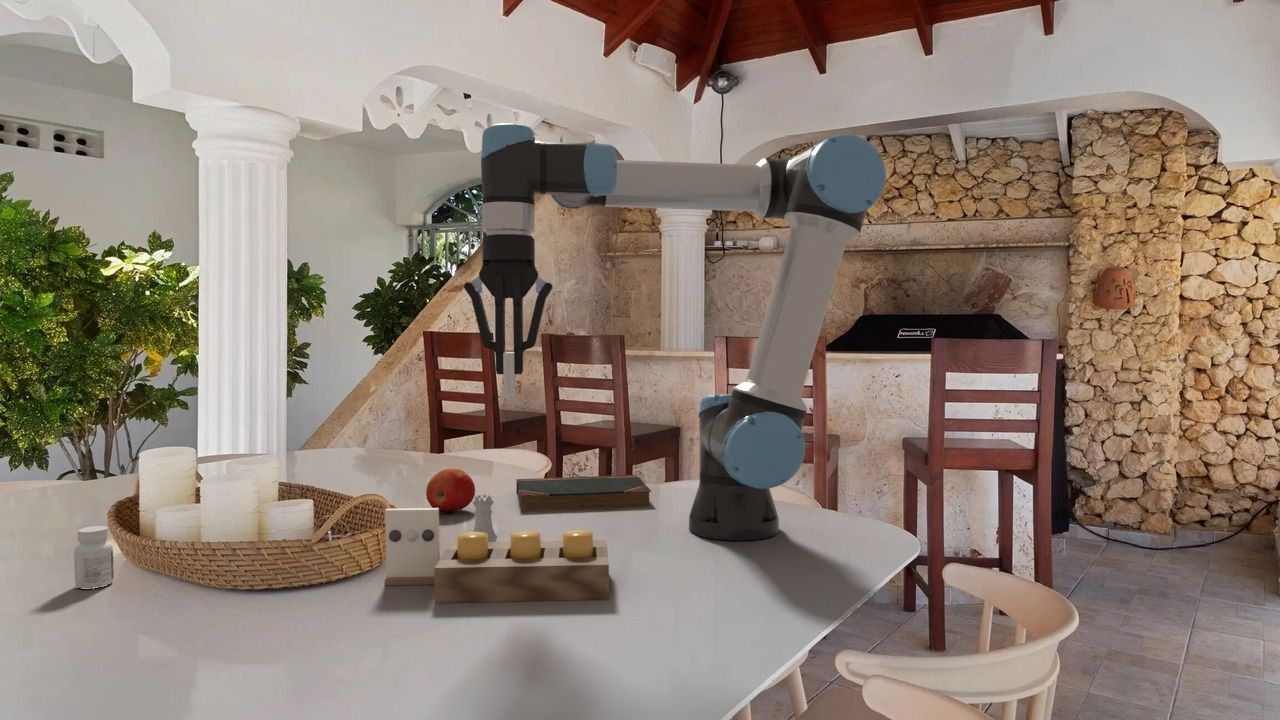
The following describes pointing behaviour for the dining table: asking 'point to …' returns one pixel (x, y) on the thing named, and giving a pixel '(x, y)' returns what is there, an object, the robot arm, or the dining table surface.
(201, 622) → the dining table surface
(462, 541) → the button
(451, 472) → the apple
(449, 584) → the board
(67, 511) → the dining table surface
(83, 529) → the pill bottle
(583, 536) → the button
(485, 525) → the rook chess piece
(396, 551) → the card
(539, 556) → the button middle
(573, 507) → the book
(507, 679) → the dining table surface
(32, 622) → the dining table surface
